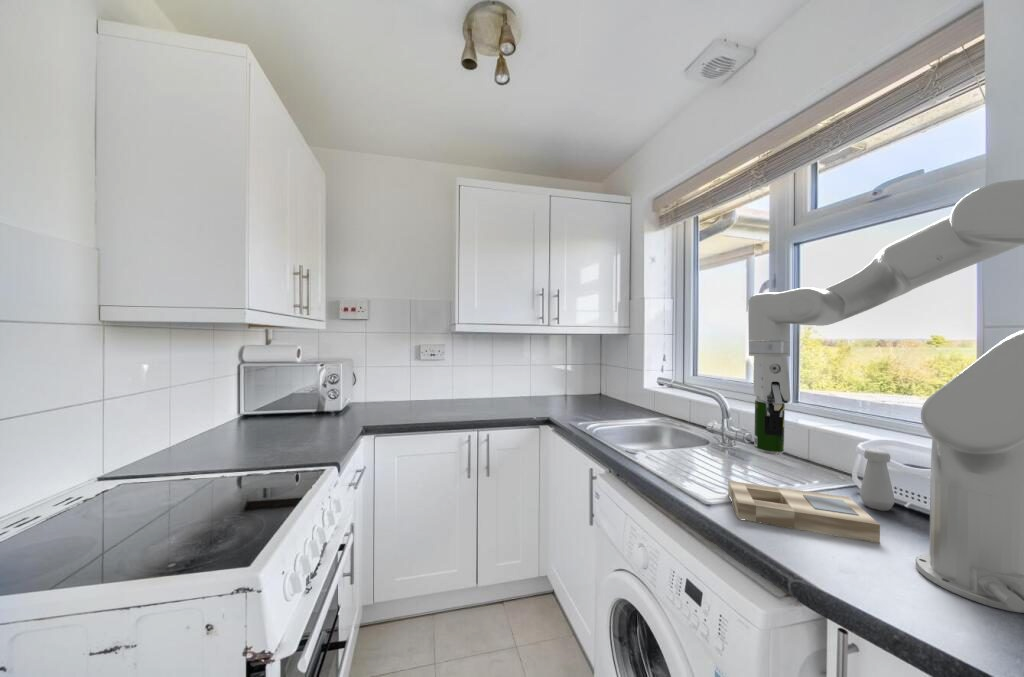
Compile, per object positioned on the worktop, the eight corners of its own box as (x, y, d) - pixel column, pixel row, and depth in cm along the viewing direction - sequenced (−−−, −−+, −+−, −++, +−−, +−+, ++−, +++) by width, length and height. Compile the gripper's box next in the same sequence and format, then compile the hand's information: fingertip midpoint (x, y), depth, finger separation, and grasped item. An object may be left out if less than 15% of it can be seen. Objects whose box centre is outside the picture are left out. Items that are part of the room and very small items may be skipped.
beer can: (760, 454, 79) (761, 398, 79) (750, 447, 84) (750, 394, 84) (789, 456, 78) (789, 399, 78) (776, 448, 83) (777, 395, 83)
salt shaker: (889, 504, 85) (890, 448, 85) (899, 515, 81) (900, 455, 80) (855, 499, 88) (856, 444, 88) (863, 508, 83) (863, 451, 83)
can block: (879, 543, 69) (880, 523, 69) (738, 519, 78) (738, 501, 78) (848, 512, 81) (848, 496, 81) (728, 495, 90) (728, 479, 90)
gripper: (803, 350, 72) (804, 443, 72) (778, 348, 88) (778, 425, 88) (757, 350, 75) (758, 439, 75) (741, 348, 91) (742, 422, 91)
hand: (769, 430), depth 81 cm, fingers closed on beer can, 5 cm apart
